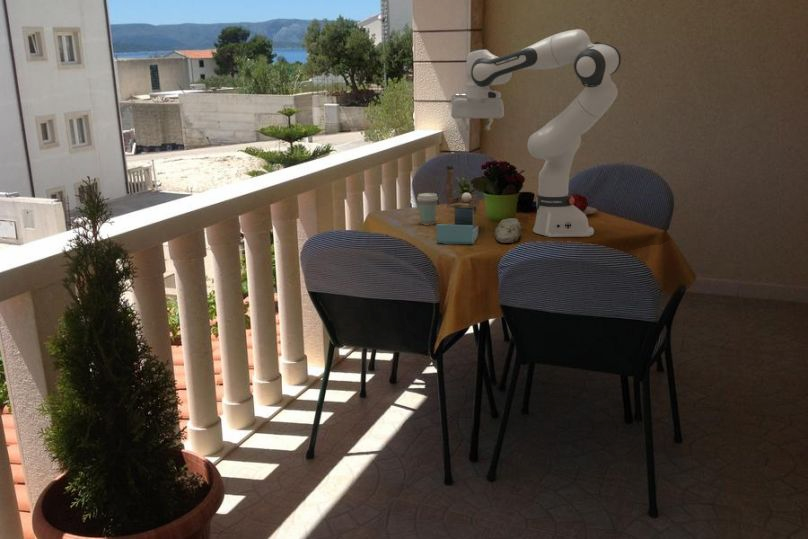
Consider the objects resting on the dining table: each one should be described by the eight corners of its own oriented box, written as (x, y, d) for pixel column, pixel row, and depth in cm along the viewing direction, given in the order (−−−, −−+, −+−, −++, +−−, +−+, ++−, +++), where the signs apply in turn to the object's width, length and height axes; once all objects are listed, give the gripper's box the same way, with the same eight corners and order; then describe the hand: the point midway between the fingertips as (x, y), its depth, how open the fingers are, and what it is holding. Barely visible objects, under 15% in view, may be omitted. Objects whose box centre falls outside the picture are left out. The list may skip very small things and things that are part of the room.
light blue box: (477, 236, 273) (477, 218, 271) (472, 245, 261) (472, 225, 259) (443, 235, 276) (443, 217, 274) (436, 243, 264) (436, 224, 262)
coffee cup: (436, 226, 292) (436, 196, 289) (415, 225, 294) (415, 196, 291) (439, 221, 300) (439, 192, 297) (419, 221, 302) (418, 192, 299)
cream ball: (472, 203, 285) (472, 193, 285) (470, 201, 281) (471, 191, 281) (462, 203, 286) (462, 193, 286) (460, 201, 282) (461, 191, 282)
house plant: (440, 212, 319) (439, 174, 315) (463, 207, 327) (463, 171, 323) (461, 216, 308) (461, 178, 304) (485, 212, 316) (485, 174, 312)
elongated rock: (523, 227, 293) (498, 228, 294) (522, 214, 292) (497, 215, 293) (521, 244, 259) (493, 245, 261) (520, 229, 258) (492, 230, 260)
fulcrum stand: (478, 230, 283) (478, 206, 280) (475, 233, 277) (475, 209, 275) (452, 229, 285) (452, 206, 283) (449, 233, 280) (449, 209, 277)
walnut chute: (479, 210, 286) (480, 164, 284) (470, 213, 267) (472, 164, 265) (450, 209, 289) (450, 164, 287) (440, 212, 270) (440, 164, 267)
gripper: (449, 94, 279) (449, 131, 283) (503, 93, 275) (502, 130, 278) (452, 93, 285) (452, 129, 289) (504, 92, 280) (504, 129, 284)
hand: (477, 130), depth 284 cm, fingers open, 7 cm apart
